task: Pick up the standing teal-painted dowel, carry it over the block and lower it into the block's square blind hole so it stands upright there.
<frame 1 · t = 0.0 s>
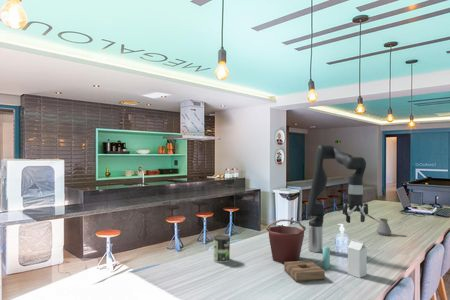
hand: (355, 222, 170), 29 cm above the table, tool pointing down, fingers open, 8 cm apart
coffee can: (221, 260, 193), on the table
dowel: (326, 268, 180), on the table
bore block: (303, 275, 169), on the table
milk carton: (357, 275, 171), on the table
bucket: (285, 259, 194), on the table
coffee pot: (377, 233, 263), on the table
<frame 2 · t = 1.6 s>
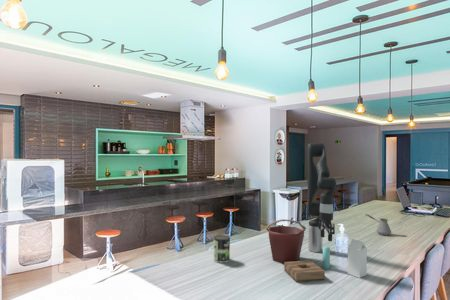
hand: (326, 239, 181), 17 cm above the table, tool pointing down, fingers open, 8 cm apart
nothing on the table moved.
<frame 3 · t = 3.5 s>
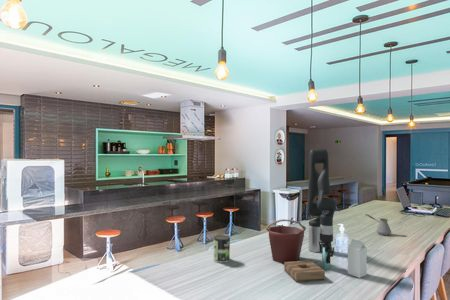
hand: (326, 261, 180), 4 cm above the table, tool pointing down, fingers closed on dowel, 4 cm apart
dowel: (326, 268, 180), on the table, touching gripper
everything else where it was.
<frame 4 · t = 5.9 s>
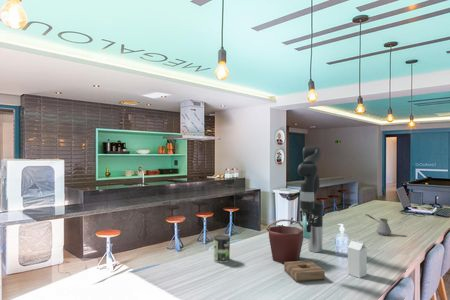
hand: (306, 230, 170), 24 cm above the table, tool pointing down, fingers closed on dowel, 4 cm apart
dowel: (306, 237, 170), point 20 cm above the table, touching gripper
everything else where it was.
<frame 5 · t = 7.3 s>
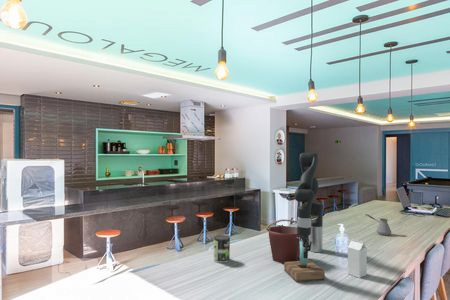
hand: (303, 256, 169), 10 cm above the table, tool pointing down, fingers closed on dowel, 4 cm apart
dowel: (303, 263, 169), point 7 cm above the table, touching gripper
everything else where it was.
when the fingers open (6 cm above the table, at t = 8.4 s): dowel drops 2 cm, resting on bore block.
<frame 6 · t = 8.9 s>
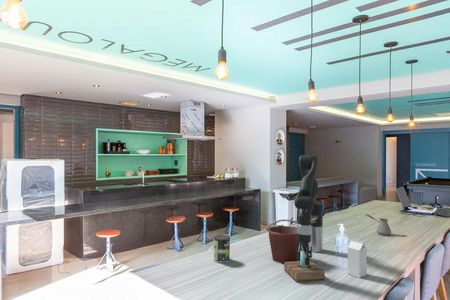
hand: (303, 262, 169), 7 cm above the table, tool pointing down, fingers open, 8 cm apart
dowel: (303, 273, 169), point 1 cm above the table, touching bore block
everything else where it was.
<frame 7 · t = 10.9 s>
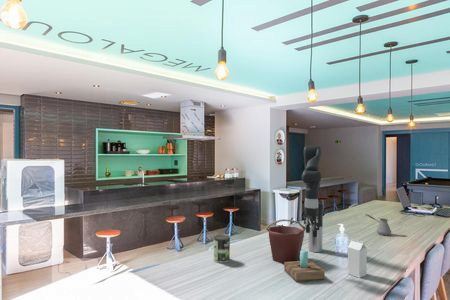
hand: (311, 234, 174), 21 cm above the table, tool pointing down, fingers open, 8 cm apart
nothing on the table moved.
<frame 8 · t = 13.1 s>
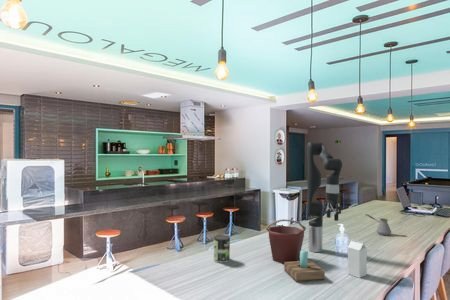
hand: (332, 219, 184), 28 cm above the table, tool pointing down, fingers open, 8 cm apart
nothing on the table moved.
at the end: dowel 0.0 cm off-centre on the bore block, point 1.0 cm above the bore block's base; dowel tilted 0°; the gripper is holding nothing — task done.
